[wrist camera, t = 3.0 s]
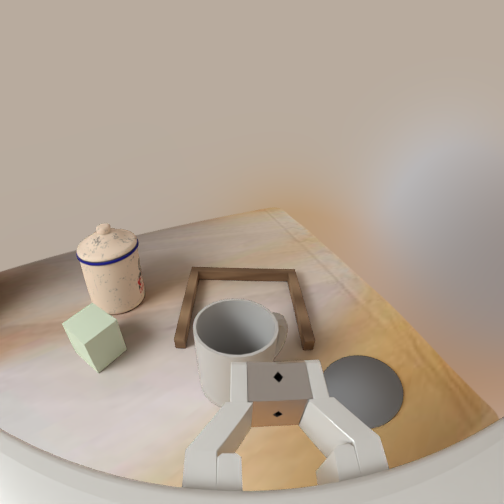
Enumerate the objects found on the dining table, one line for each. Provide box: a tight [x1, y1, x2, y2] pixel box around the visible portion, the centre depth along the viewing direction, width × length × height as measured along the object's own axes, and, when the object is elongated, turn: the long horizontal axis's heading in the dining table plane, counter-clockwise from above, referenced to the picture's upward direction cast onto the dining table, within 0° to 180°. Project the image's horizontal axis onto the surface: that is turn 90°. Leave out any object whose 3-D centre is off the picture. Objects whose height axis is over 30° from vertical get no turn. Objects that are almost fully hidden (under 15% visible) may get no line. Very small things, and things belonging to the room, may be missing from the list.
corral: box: [174, 267, 315, 350], centre depth 38 cm, size 16×16×2 cm
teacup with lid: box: [76, 223, 145, 314], centre depth 37 cm, size 12×9×12 cm
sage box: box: [62, 303, 127, 373], centre depth 28 cm, size 5×5×5 cm
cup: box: [193, 299, 288, 407], centre depth 26 cm, size 7×10×9 cm
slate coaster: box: [323, 356, 403, 429], centre depth 27 cm, size 10×10×1 cm
